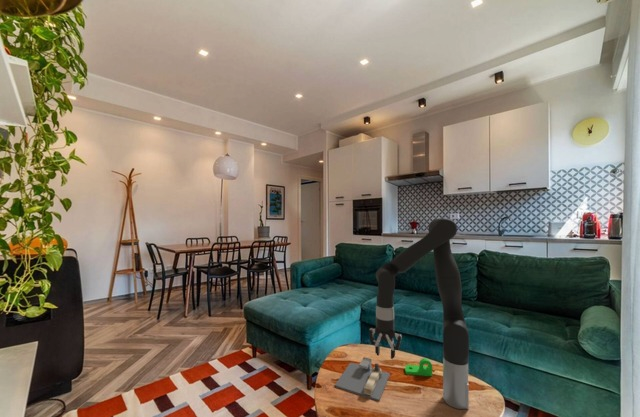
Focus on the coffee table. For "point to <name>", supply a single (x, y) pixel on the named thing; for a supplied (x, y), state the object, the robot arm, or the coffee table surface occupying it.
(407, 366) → the mechanical part
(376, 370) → the latch bar
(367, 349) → the coffee table surface
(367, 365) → the keeper
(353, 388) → the base plate
